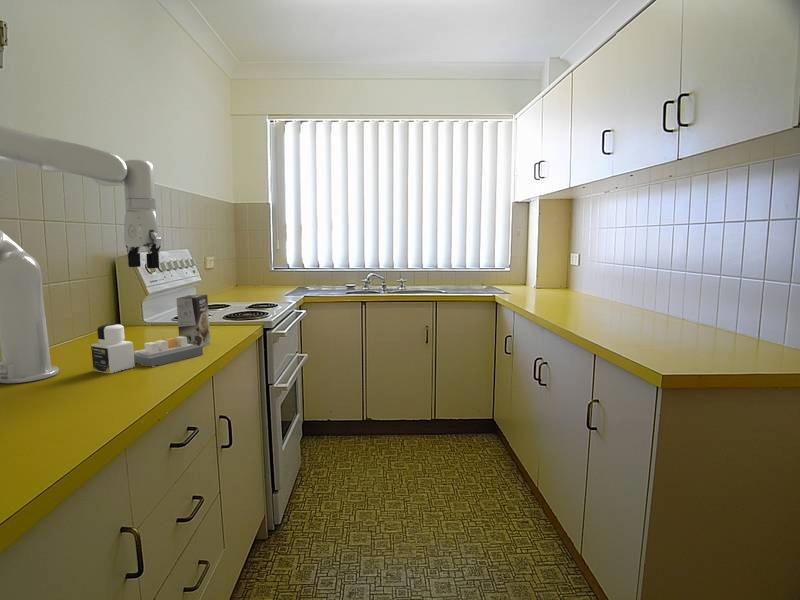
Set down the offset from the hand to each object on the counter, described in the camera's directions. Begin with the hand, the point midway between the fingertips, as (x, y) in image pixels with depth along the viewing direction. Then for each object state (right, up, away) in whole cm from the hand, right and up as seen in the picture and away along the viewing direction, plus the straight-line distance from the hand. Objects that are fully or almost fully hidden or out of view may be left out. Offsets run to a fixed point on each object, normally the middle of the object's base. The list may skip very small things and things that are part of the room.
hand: (143, 267), depth 139 cm
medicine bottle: (-4, -28, -8) cm, 29 cm away
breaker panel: (+5, -26, +3) cm, 27 cm away
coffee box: (+7, -24, +18) cm, 31 cm away
